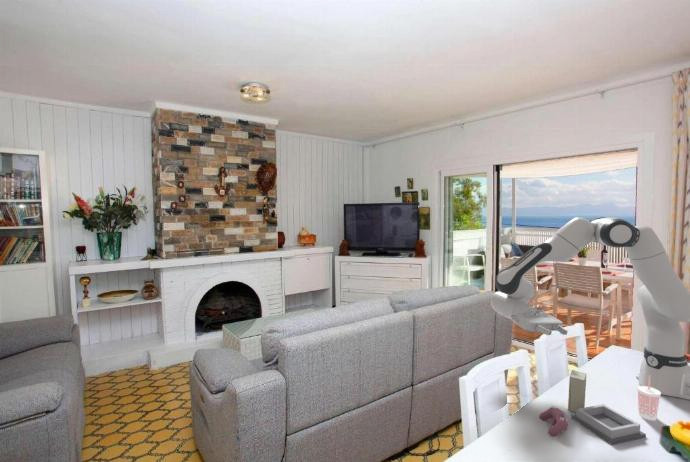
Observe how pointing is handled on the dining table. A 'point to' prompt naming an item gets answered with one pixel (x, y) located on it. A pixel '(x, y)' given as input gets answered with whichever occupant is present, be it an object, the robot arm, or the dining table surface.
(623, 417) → the socket dock
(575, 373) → the skincare box
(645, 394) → the beverage cup
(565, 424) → the video game controller
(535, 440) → the dining table surface
